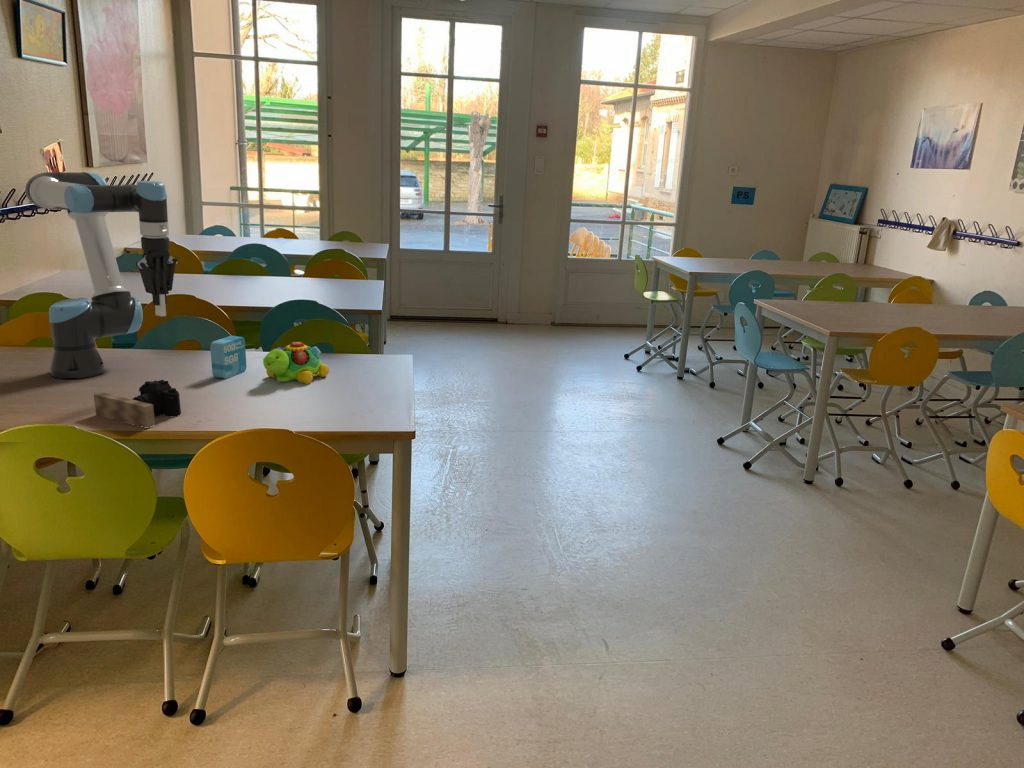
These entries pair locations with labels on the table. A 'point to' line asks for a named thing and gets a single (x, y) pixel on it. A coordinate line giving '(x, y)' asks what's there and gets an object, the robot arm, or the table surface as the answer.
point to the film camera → (160, 397)
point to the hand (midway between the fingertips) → (160, 315)
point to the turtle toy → (295, 363)
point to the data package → (228, 356)
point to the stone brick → (124, 409)
